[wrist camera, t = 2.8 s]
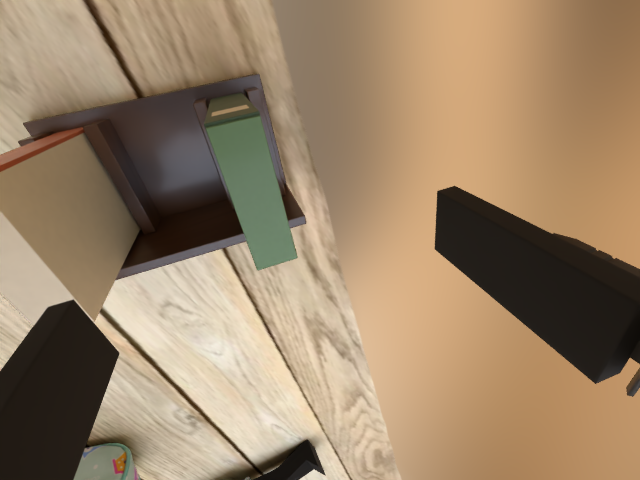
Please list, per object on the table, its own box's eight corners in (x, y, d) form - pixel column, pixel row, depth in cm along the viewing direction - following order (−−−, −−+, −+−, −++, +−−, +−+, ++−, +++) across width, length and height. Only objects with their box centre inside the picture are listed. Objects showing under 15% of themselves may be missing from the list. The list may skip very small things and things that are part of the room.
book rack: (30, 121, 23) (-61, 146, 16) (257, 73, 26) (273, 75, 19) (107, 236, 29) (68, 295, 22) (286, 187, 32) (306, 224, 24)
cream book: (58, 132, 23) (-104, 195, 12) (93, 124, 24) (-28, 177, 12) (117, 225, 28) (44, 337, 16) (146, 218, 28) (95, 321, 17)
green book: (210, 98, 25) (203, 124, 13) (241, 91, 25) (259, 111, 14) (242, 192, 30) (257, 271, 18) (267, 185, 30) (298, 258, 18)
